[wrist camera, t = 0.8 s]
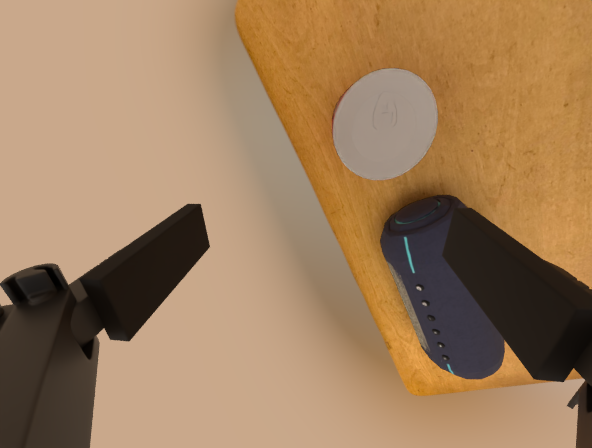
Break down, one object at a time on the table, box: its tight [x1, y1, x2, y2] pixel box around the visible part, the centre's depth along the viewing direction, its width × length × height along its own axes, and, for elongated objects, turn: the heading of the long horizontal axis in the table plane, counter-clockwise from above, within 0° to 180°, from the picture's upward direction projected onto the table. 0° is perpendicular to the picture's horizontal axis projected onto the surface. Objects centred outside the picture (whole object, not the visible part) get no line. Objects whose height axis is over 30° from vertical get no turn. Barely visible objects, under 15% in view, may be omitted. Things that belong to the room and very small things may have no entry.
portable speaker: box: [380, 195, 505, 379], centre depth 31 cm, size 25×10×10 cm, turn 27°
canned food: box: [332, 68, 438, 180], centre depth 23 cm, size 8×8×11 cm
